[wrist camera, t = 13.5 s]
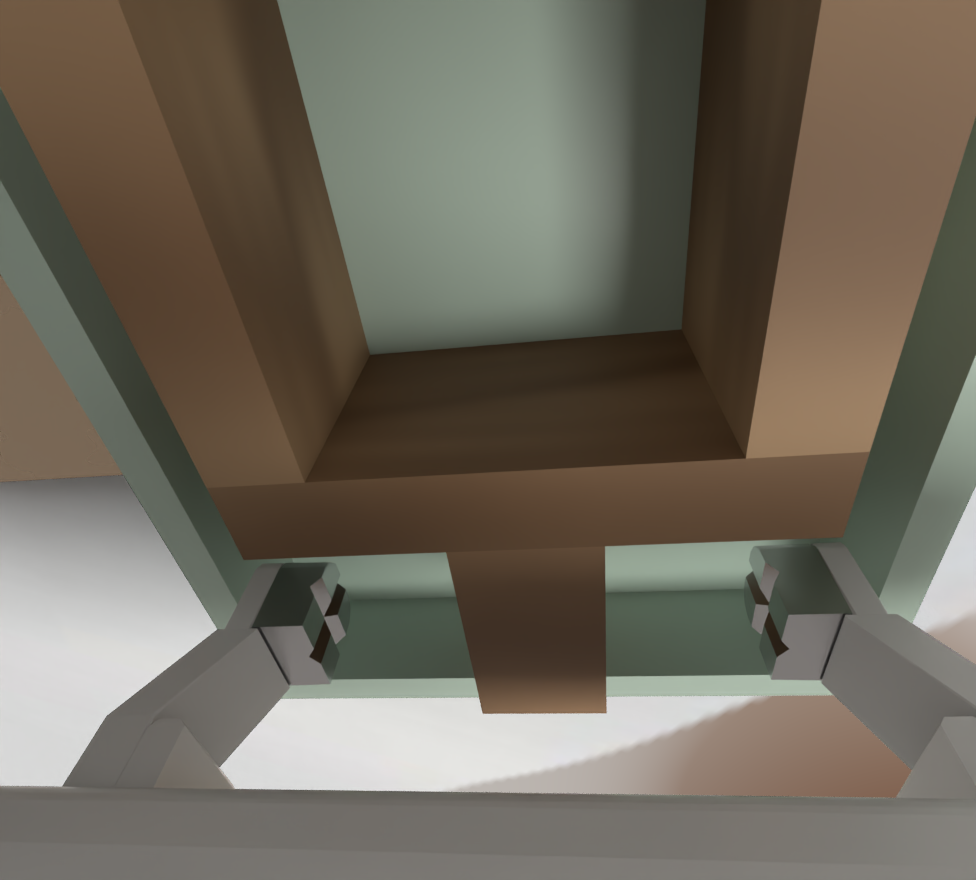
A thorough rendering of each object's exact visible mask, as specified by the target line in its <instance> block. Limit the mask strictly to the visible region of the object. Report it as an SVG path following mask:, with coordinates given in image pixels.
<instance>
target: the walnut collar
mask: <svg viewBox="0 0 976 880" xmlns="http://www.w3.org/2000/svg"><path fill="white" fill-rule="evenodd" d="M0 88H1V90H2V92H3V94H4V96H5V97H6V99H7V101H8V103H9V105H10V107H11V109H12V111H13V113H14V115H15V117H16V119H17V121H18V123H19V125H20V127H21V129H22V131H23V132H24V134H25V136H26V138H27V140H28V142H29V144H30V146H31V148H32V150H33V152H34V154H35V156H36V158H37V160H38V162H39V164H40V165H41V167H42V169H43V171H44V173H45V175H46V177H47V179H48V181H49V183H50V185H51V187H52V189H53V191H54V193H55V195H56V197H57V198H58V200H59V202H60V204H61V206H62V208H63V210H64V212H65V214H66V216H67V218H68V220H69V222H70V224H71V226H72V228H73V230H74V232H75V233H76V235H77V237H78V239H79V241H80V243H81V245H82V247H83V249H84V251H85V253H86V255H87V257H88V259H89V261H90V263H91V265H92V266H93V268H94V270H95V272H96V274H97V276H98V278H99V280H100V282H101V284H102V286H103V288H104V290H105V292H106V294H107V296H108V298H109V299H110V301H111V303H112V305H113V307H114V309H115V311H116V313H117V315H118V317H119V319H120V321H121V323H122V325H123V327H124V329H125V331H126V333H127V334H128V336H129V338H130V340H131V342H132V344H133V346H134V348H135V350H136V352H137V354H138V356H139V358H140V360H141V362H142V364H143V366H144V367H145V369H146V371H147V373H148V375H149V377H150V379H151V381H152V383H153V385H154V387H155V389H156V391H157V393H158V395H159V397H160V399H161V400H162V402H163V404H164V406H165V408H166V410H167V412H168V414H169V416H170V418H171V420H172V422H173V424H174V426H175V428H176V430H177V432H178V434H179V435H180V437H181V439H182V441H183V443H184V445H185V447H186V449H187V451H188V453H189V455H190V457H191V459H192V461H193V463H194V465H195V467H196V468H197V470H198V472H199V474H200V476H201V478H202V480H203V482H204V484H205V486H206V488H207V490H208V492H209V494H210V496H211V498H212V500H213V501H214V503H215V505H216V507H217V509H218V511H219V513H220V515H221V517H222V519H223V521H224V523H225V525H226V527H227V529H228V531H229V533H230V535H231V536H232V538H233V540H234V542H235V544H236V546H237V548H238V550H239V552H240V554H241V556H242V558H243V560H258V559H285V558H311V557H338V556H364V555H391V554H417V553H443V552H446V555H447V559H448V563H449V568H450V572H451V577H452V581H453V585H454V590H455V594H456V598H457V603H458V607H459V612H460V616H461V620H462V625H463V629H464V633H465V638H466V642H467V647H468V651H469V655H470V660H471V664H472V668H473V673H474V677H475V682H476V686H477V690H478V695H479V699H480V703H481V708H482V712H483V714H493V713H606V589H605V546H629V545H655V544H682V543H708V542H734V541H761V540H787V539H814V538H840V537H843V535H844V532H845V529H846V526H847V523H848V520H849V516H850V513H851V510H852V507H853V504H854V501H855V497H856V494H857V491H858V488H859V485H860V482H861V478H862V475H863V472H864V469H865V466H866V463H867V459H868V456H869V453H870V450H871V447H872V444H873V440H874V437H875V434H876V431H877V428H878V425H879V421H880V418H881V415H882V412H883V409H884V406H885V402H886V399H887V396H888V393H889V390H890V387H891V383H892V380H893V377H894V374H895V371H896V368H897V364H898V361H899V358H900V355H901V352H902V349H903V345H904V342H905V339H906V336H907V333H908V330H909V326H910V323H911V320H912V317H913V314H914V311H915V307H916V304H917V301H918V298H919V295H920V292H921V288H922V285H923V282H924V279H925V276H926V273H927V269H928V266H929V263H930V260H931V257H932V254H933V250H934V247H935V244H936V241H937V238H938V235H939V231H940V228H941V225H942V222H943V219H944V215H945V212H946V209H947V206H948V203H949V200H950V196H951V193H952V190H953V187H954V184H955V181H956V177H957V174H958V171H959V168H960V165H961V162H962V158H963V155H964V152H965V149H966V146H967V143H968V139H969V136H970V133H971V130H972V127H973V124H974V120H975V117H976V0H706V9H705V22H704V35H703V49H702V62H701V75H700V89H699V102H698V115H697V129H696V142H695V155H694V169H693V182H692V195H691V209H690V222H689V235H688V249H687V262H686V275H685V289H684V302H683V315H682V329H680V330H668V331H656V332H643V333H631V334H619V335H607V336H595V337H582V338H570V339H558V340H546V341H534V342H521V343H509V344H497V345H485V346H473V347H460V348H448V349H436V350H424V351H412V352H399V353H387V354H375V355H370V353H369V349H368V345H367V341H366V337H365V334H364V330H363V326H362V322H361V318H360V315H359V311H358V307H357V303H356V299H355V295H354V292H353V288H352V284H351V280H350V276H349V273H348V269H347V265H346V261H345V257H344V253H343V250H342V246H341V242H340V238H339V234H338V231H337V227H336V223H335V219H334V215H333V212H332V208H331V204H330V200H329V196H328V192H327V189H326V185H325V181H324V177H323V173H322V170H321V166H320V162H319V158H318V154H317V150H316V147H315V143H314V139H313V135H312V131H311V128H310V124H309V120H308V116H307V112H306V108H305V105H304V101H303V97H302V93H301V89H300V86H299V82H298V78H297V74H296V70H295V67H294V63H293V59H292V55H291V51H290V47H289V44H288V40H287V36H286V32H285V28H284V25H283V21H282V17H281V13H280V9H279V5H278V2H277V0H0Z"/></svg>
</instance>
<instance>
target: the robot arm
mask: <svg viewBox="0 0 976 880" xmlns="http://www.w3.org/2000/svg"><path fill="white" fill-rule="evenodd" d="M749 562H750V565H751V567H752V570H753V571H752V572H751V573H750V574H748V575H747V576H746V578H745V584H744V602H745V607H746V612H747V616H748V618H749V621H750V624H751V627H752V628H754V629H755V630H756V631H757V632H759V633H760V634H761V635H762V636H761V640H760V645H759V649H760V652H761V654H762V657H763V660H764V662H765V665H766V668H767V670H768V673H769V675H770V678H771V680H821V683H822V684H823V685H824V686H825V687H826V688H827V689H828V690H829V691H830V692H831V693H832V694H833V695H834V696H835V697H836V698H837V699H838V700H839V701H840V702H842V704H843V705H845V706H846V707H847V708H848V709H849V710H850V711H851V712H852V713H853V714H854V715H855V716H856V717H857V718H858V719H859V720H860V721H861V722H862V723H863V724H864V725H865V726H866V727H868V728H869V729H870V730H871V731H872V732H873V733H874V734H875V735H876V736H877V737H878V738H879V739H880V740H881V741H882V742H883V743H884V744H885V745H886V746H887V747H888V748H889V749H890V750H891V751H892V752H894V753H895V754H896V755H897V756H898V757H899V758H900V759H901V760H902V761H903V762H904V763H905V764H906V765H907V766H908V767H909V768H910V769H911V770H912V771H911V773H910V775H909V776H908V778H907V780H906V782H905V783H904V785H903V786H902V788H901V790H900V791H899V793H898V795H897V797H896V798H866V797H792V796H785V797H784V796H718V795H711V796H710V795H646V794H640V795H639V794H576V793H498V792H420V791H345V790H270V789H234V786H233V784H232V783H231V782H230V780H229V779H228V778H227V777H226V775H225V774H224V773H223V772H222V770H221V769H220V768H219V767H220V766H221V765H222V764H223V763H224V762H225V761H226V759H227V758H228V757H229V756H230V755H231V754H232V753H233V752H234V750H235V749H236V748H237V747H238V746H239V745H240V744H241V743H242V741H243V740H244V739H245V738H246V737H247V736H248V735H249V734H250V732H251V731H252V730H253V729H254V728H255V727H256V726H257V725H258V723H259V722H260V721H261V720H262V719H263V718H264V717H265V716H266V714H267V713H268V712H269V711H270V710H271V709H272V708H273V707H274V705H275V704H276V703H277V702H278V701H279V700H280V699H281V698H282V696H283V695H284V694H285V693H286V692H287V691H288V690H289V689H290V687H289V686H294V685H320V684H331V681H332V678H333V674H334V671H335V668H336V665H337V662H338V659H339V656H340V653H339V651H338V649H337V646H336V644H337V643H338V642H339V641H340V640H341V639H342V638H343V637H344V636H345V635H346V633H347V630H348V626H349V623H350V611H351V607H350V600H349V596H348V593H347V590H346V589H345V588H344V587H342V586H341V585H340V584H338V580H339V577H340V572H339V570H338V568H337V566H336V563H331V562H310V563H263V564H261V565H260V566H259V567H258V568H257V569H256V570H255V572H254V574H253V576H252V578H251V579H250V581H249V583H248V585H247V587H246V589H245V591H244V593H243V595H242V597H241V599H240V600H239V602H238V604H237V606H236V608H235V610H234V612H233V614H232V616H231V618H230V620H229V621H228V623H227V625H226V627H225V629H217V630H216V631H215V632H214V633H212V634H211V635H210V636H209V637H207V638H206V639H205V640H203V641H202V642H201V643H200V644H198V645H197V646H196V647H194V648H193V649H192V650H191V651H189V652H188V653H187V654H185V655H184V656H183V657H182V658H180V659H179V660H178V661H177V662H175V663H174V664H173V665H171V666H170V667H169V668H168V669H166V670H165V671H164V672H162V673H161V674H160V675H159V676H157V677H156V678H155V679H154V680H152V681H151V682H150V683H148V684H147V685H146V686H145V687H143V688H142V689H141V690H139V691H138V692H137V693H136V694H134V695H133V696H132V697H130V698H129V699H128V700H127V701H125V702H124V703H123V704H122V705H120V706H119V707H118V708H116V709H115V710H114V711H113V712H111V713H110V714H109V715H107V716H106V718H105V719H104V721H103V723H102V724H101V726H100V727H99V729H98V731H97V732H96V734H95V735H94V737H93V738H92V740H91V742H90V743H89V745H88V746H87V748H86V750H85V751H84V753H83V754H82V756H81V758H80V759H79V761H78V762H77V764H76V765H75V767H74V769H73V770H72V772H71V773H70V775H69V777H68V778H67V780H66V781H65V783H64V785H63V786H62V787H54V786H0V880H976V665H975V664H974V663H972V662H971V661H969V660H968V659H966V658H964V657H963V656H962V655H960V654H958V653H957V652H955V651H954V650H952V649H951V648H949V647H948V646H946V645H945V644H943V643H942V642H940V641H938V640H937V639H935V638H934V637H932V636H931V635H929V634H928V633H926V632H925V631H923V630H921V629H920V628H918V627H917V626H915V625H914V624H912V623H911V622H909V621H908V620H906V619H904V618H903V617H901V616H900V615H898V614H888V613H887V611H886V609H885V608H884V606H883V605H882V603H881V601H880V600H879V598H878V597H877V595H876V593H875V592H874V590H873V589H872V587H871V585H870V584H869V582H868V581H867V579H866V577H865V576H864V574H863V572H862V571H861V569H860V568H859V566H858V564H857V563H856V561H855V560H854V558H853V556H852V555H851V553H850V552H849V550H848V548H847V547H846V546H845V545H844V544H842V543H841V542H833V543H812V544H808V543H807V544H786V545H765V546H754V547H753V548H752V550H751V552H750V557H749Z"/></svg>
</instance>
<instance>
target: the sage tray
mask: <svg viewBox="0 0 976 880" xmlns="http://www.w3.org/2000/svg"><path fill="white" fill-rule="evenodd" d="M277 2H278V5H279V9H280V13H281V17H282V21H283V25H284V28H285V32H286V36H287V40H288V44H289V47H290V51H291V55H292V59H293V63H294V67H295V70H296V74H297V78H298V82H299V86H300V89H301V93H302V97H303V101H304V105H305V108H306V112H307V116H308V120H309V124H310V128H311V131H312V135H313V139H314V143H315V147H316V150H317V154H318V158H319V162H320V166H321V170H322V173H323V177H324V181H325V185H326V189H327V192H328V196H329V200H330V204H331V208H332V212H333V215H334V219H335V223H336V227H337V231H338V234H339V238H340V242H341V246H342V250H343V253H344V257H345V261H346V265H347V269H348V273H349V276H350V280H351V284H352V288H353V292H354V295H355V299H356V303H357V307H358V311H359V315H360V318H361V322H362V326H363V330H364V334H365V337H366V341H367V345H368V349H369V353H370V355H375V354H387V353H399V352H412V351H424V350H436V349H448V348H460V347H473V346H485V345H497V344H509V343H521V342H534V341H546V340H558V339H570V338H582V337H595V336H607V335H619V334H631V333H643V332H656V331H668V330H680V329H682V315H683V302H684V289H685V275H686V262H687V249H688V235H689V222H690V209H691V195H692V182H693V169H694V155H695V142H696V129H697V115H698V102H699V89H700V75H701V62H702V49H703V35H704V22H705V9H706V0H277ZM0 274H1V276H2V277H3V279H4V281H5V282H6V284H7V286H8V287H9V289H10V290H11V292H12V294H13V295H14V297H15V299H16V300H17V302H18V304H19V305H20V307H21V308H22V310H23V312H24V313H25V315H26V317H27V318H28V320H29V322H30V323H31V325H32V326H33V328H34V330H35V331H36V333H37V335H38V336H39V338H40V340H41V341H42V343H43V344H44V346H45V348H46V349H47V351H48V353H49V354H50V356H51V358H52V359H53V361H54V363H55V364H56V366H57V367H58V369H59V371H60V372H61V374H62V376H63V377H64V379H65V381H66V382H67V384H68V385H69V387H70V389H71V390H72V392H73V394H74V395H75V397H76V399H77V400H78V402H79V403H80V405H81V407H82V408H83V410H84V412H85V413H86V415H87V417H88V418H89V420H90V421H91V423H92V425H93V426H94V428H95V430H96V431H97V433H98V435H99V436H100V438H101V439H102V441H103V443H104V444H105V446H106V448H107V449H108V451H109V453H110V454H111V456H112V457H113V459H114V461H115V462H116V464H117V466H118V467H119V469H120V471H121V472H122V474H123V475H124V477H125V479H126V480H127V482H128V484H129V485H130V487H131V489H132V490H133V492H134V493H135V495H136V497H137V498H138V500H139V502H140V503H141V505H142V507H143V508H144V510H145V511H146V513H147V515H148V516H149V518H150V520H151V521H152V523H153V525H154V526H155V528H156V529H157V531H158V533H159V534H160V536H161V538H162V539H163V541H164V543H165V544H166V546H167V547H168V549H169V551H170V552H171V554H172V556H173V557H174V559H175V561H176V562H177V564H178V565H179V567H180V569H181V570H182V572H183V574H184V575H185V577H186V579H187V580H188V582H189V583H190V585H191V587H192V588H193V590H194V592H195V593H196V595H197V597H198V598H199V600H200V601H201V603H202V605H203V606H204V608H205V610H206V611H207V613H208V615H209V616H210V618H211V619H212V621H213V623H214V624H215V626H216V628H217V629H225V627H226V625H227V623H228V621H229V620H230V618H231V616H232V614H233V612H234V610H235V608H236V606H237V604H238V602H239V600H240V599H241V597H242V595H243V593H244V591H245V589H246V587H247V585H248V583H249V581H250V579H251V578H252V576H253V574H254V572H255V570H256V569H257V568H258V567H259V566H260V565H261V564H263V563H310V562H331V563H336V566H337V568H338V570H339V572H340V577H339V580H338V584H340V585H341V586H342V587H344V588H345V589H346V590H347V593H348V596H349V600H350V607H351V611H350V623H349V626H348V630H347V633H346V635H345V636H344V637H343V638H342V639H341V640H340V641H339V642H338V643H337V644H336V646H337V649H338V651H339V653H340V656H339V659H338V662H337V665H336V668H335V671H334V674H333V678H332V681H331V684H320V685H294V686H289V687H290V689H289V690H288V691H287V692H286V693H285V694H284V695H283V696H282V698H281V699H309V698H464V697H479V695H478V690H477V686H476V682H475V677H474V673H473V668H472V664H471V660H470V655H469V651H468V647H467V642H466V638H465V633H464V629H463V625H462V620H461V616H460V612H459V607H458V603H457V598H456V594H455V590H454V585H453V581H452V577H451V572H450V568H449V563H448V559H447V555H446V552H443V553H417V554H391V555H364V556H338V557H311V558H285V559H258V560H243V558H242V556H241V554H240V552H239V550H238V548H237V546H236V544H235V542H234V540H233V538H232V536H231V535H230V533H229V531H228V529H227V527H226V525H225V523H224V521H223V519H222V517H221V515H220V513H219V511H218V509H217V507H216V505H215V503H214V501H213V500H212V498H211V496H210V494H209V492H208V490H207V488H206V486H205V484H204V482H203V480H202V478H201V476H200V474H199V472H198V470H197V468H196V467H195V465H194V463H193V461H192V459H191V457H190V455H189V453H188V451H187V449H186V447H185V445H184V443H183V441H182V439H181V437H180V435H179V434H178V432H177V430H176V428H175V426H174V424H173V422H172V420H171V418H170V416H169V414H168V412H167V410H166V408H165V406H164V404H163V402H162V400H161V399H160V397H159V395H158V393H157V391H156V389H155V387H154V385H153V383H152V381H151V379H150V377H149V375H148V373H147V371H146V369H145V367H144V366H143V364H142V362H141V360H140V358H139V356H138V354H137V352H136V350H135V348H134V346H133V344H132V342H131V340H130V338H129V336H128V334H127V333H126V331H125V329H124V327H123V325H122V323H121V321H120V319H119V317H118V315H117V313H116V311H115V309H114V307H113V305H112V303H111V301H110V299H109V298H108V296H107V294H106V292H105V290H104V288H103V286H102V284H101V282H100V280H99V278H98V276H97V274H96V272H95V270H94V268H93V266H92V265H91V263H90V261H89V259H88V257H87V255H86V253H85V251H84V249H83V247H82V245H81V243H80V241H79V239H78V237H77V235H76V233H75V232H74V230H73V228H72V226H71V224H70V222H69V220H68V218H67V216H66V214H65V212H64V210H63V208H62V206H61V204H60V202H59V200H58V198H57V197H56V195H55V193H54V191H53V189H52V187H51V185H50V183H49V181H48V179H47V177H46V175H45V173H44V171H43V169H42V167H41V165H40V164H39V162H38V160H37V158H36V156H35V154H34V152H33V150H32V148H31V146H30V144H29V142H28V140H27V138H26V136H25V134H24V132H23V131H22V129H21V127H20V125H19V123H18V121H17V119H16V117H15V115H14V113H13V111H12V109H11V107H10V105H9V103H8V101H7V99H6V97H5V96H4V94H3V92H2V90H1V88H0ZM975 487H976V117H975V120H974V124H973V127H972V130H971V133H970V136H969V139H968V143H967V146H966V149H965V152H964V155H963V158H962V162H961V165H960V168H959V171H958V174H957V177H956V181H955V184H954V187H953V190H952V193H951V196H950V200H949V203H948V206H947V209H946V212H945V215H944V219H943V222H942V225H941V228H940V231H939V235H938V238H937V241H936V244H935V247H934V250H933V254H932V257H931V260H930V263H929V266H928V269H927V273H926V276H925V279H924V282H923V285H922V288H921V292H920V295H919V298H918V301H917V304H916V307H915V311H914V314H913V317H912V320H911V323H910V326H909V330H908V333H907V336H906V339H905V342H904V345H903V349H902V352H901V355H900V358H899V361H898V364H897V368H896V371H895V374H894V377H893V380H892V383H891V387H890V390H889V393H888V396H887V399H886V402H885V406H884V409H883V412H882V415H881V418H880V421H879V425H878V428H877V431H876V434H875V437H874V440H873V444H872V447H871V450H870V453H869V456H868V459H867V463H866V466H865V469H864V472H863V475H862V478H861V482H860V485H859V488H858V491H857V494H856V497H855V501H854V504H853V507H852V510H851V513H850V516H849V520H848V523H847V526H846V529H845V532H844V535H843V537H840V538H814V539H787V540H761V541H734V542H708V543H682V544H655V545H629V546H605V589H606V697H620V696H775V695H833V694H832V693H831V692H830V691H829V690H828V689H827V688H826V687H825V686H824V685H823V684H822V683H821V680H771V678H770V675H769V673H768V670H767V668H766V665H765V662H764V660H763V657H762V654H761V652H760V649H759V645H760V640H761V636H762V635H761V634H760V633H759V632H757V631H756V630H755V629H754V628H752V627H751V624H750V621H749V618H748V616H747V612H746V607H745V602H744V584H745V578H746V576H747V575H748V574H750V573H751V572H752V571H753V570H752V567H751V565H750V562H749V557H750V552H751V550H752V548H753V547H754V546H765V545H786V544H807V543H808V544H812V543H833V542H841V543H842V544H844V545H845V546H846V547H847V548H848V550H849V552H850V553H851V555H852V556H853V558H854V560H855V561H856V563H857V564H858V566H859V568H860V569H861V571H862V572H863V574H864V576H865V577H866V579H867V581H868V582H869V584H870V585H871V587H872V589H873V590H874V592H875V593H876V595H877V597H878V598H879V600H880V601H881V603H882V605H883V606H884V608H885V609H886V611H887V613H888V614H898V615H900V616H901V617H903V618H904V619H906V620H908V621H909V622H911V623H912V622H913V620H914V618H915V616H916V614H917V612H918V609H919V607H920V605H921V603H922V601H923V599H924V597H925V594H926V592H927V590H928V588H929V586H930V584H931V581H932V579H933V577H934V575H935V573H936V571H937V569H938V566H939V564H940V562H941V560H942V558H943V556H944V553H945V551H946V549H947V547H948V545H949V543H950V540H951V538H952V536H953V534H954V532H955V530H956V528H957V525H958V523H959V521H960V519H961V517H962V515H963V512H964V510H965V508H966V506H967V504H968V502H969V500H970V497H971V495H972V493H973V491H974V489H975Z"/></svg>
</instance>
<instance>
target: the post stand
mask: <svg viewBox="0 0 976 880" xmlns="http://www.w3.org/2000/svg"><path fill="white" fill-rule="evenodd" d="M111 475H123V474H122V472H121V471H120V469H119V467H118V466H117V464H116V462H115V461H114V459H113V457H112V456H111V454H110V453H109V451H108V449H107V448H106V446H105V444H104V443H103V441H102V439H101V438H100V436H99V435H98V433H97V431H96V430H95V428H94V426H93V425H92V423H91V421H90V420H89V418H88V417H87V415H86V413H85V412H84V410H83V408H82V407H81V405H80V403H79V402H78V400H77V399H76V397H75V395H74V394H73V392H72V390H71V389H70V387H69V385H68V384H67V382H66V381H65V379H64V377H63V376H62V374H61V372H60V371H59V369H58V367H57V366H56V364H55V363H54V361H53V359H52V358H51V356H50V354H49V353H48V351H47V349H46V348H45V346H44V344H43V343H42V341H41V340H40V338H39V336H38V335H37V333H36V331H35V330H34V328H33V326H32V325H31V323H30V322H29V320H28V318H27V317H26V315H25V313H24V312H23V310H22V308H21V307H20V305H19V304H18V302H17V300H16V299H15V297H14V295H13V294H12V292H11V290H10V289H9V287H8V286H7V284H6V282H5V281H4V279H3V277H2V276H1V274H0V482H9V481H26V480H43V479H60V478H77V477H94V476H111Z"/></svg>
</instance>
